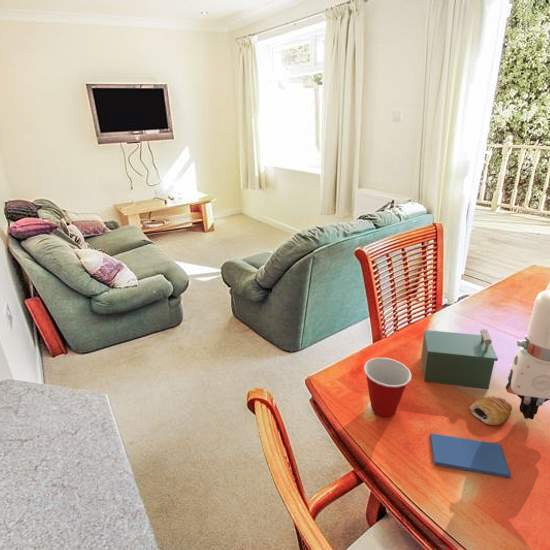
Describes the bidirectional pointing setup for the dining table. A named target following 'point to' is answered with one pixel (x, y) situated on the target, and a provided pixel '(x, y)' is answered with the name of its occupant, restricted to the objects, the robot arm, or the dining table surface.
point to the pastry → (491, 410)
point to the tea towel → (469, 455)
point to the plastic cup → (386, 384)
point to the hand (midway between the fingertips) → (526, 414)
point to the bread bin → (456, 370)
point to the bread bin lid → (460, 345)
